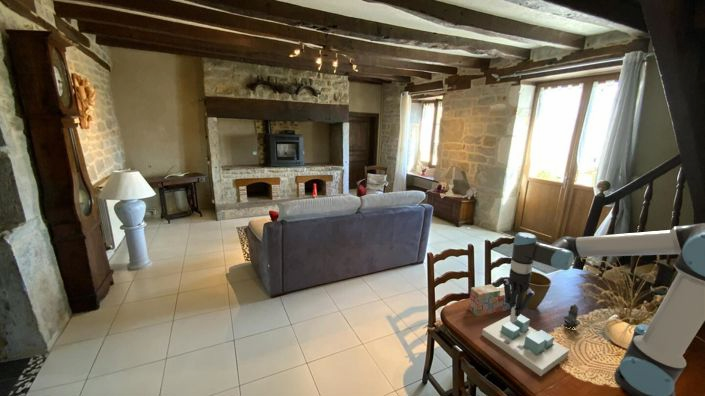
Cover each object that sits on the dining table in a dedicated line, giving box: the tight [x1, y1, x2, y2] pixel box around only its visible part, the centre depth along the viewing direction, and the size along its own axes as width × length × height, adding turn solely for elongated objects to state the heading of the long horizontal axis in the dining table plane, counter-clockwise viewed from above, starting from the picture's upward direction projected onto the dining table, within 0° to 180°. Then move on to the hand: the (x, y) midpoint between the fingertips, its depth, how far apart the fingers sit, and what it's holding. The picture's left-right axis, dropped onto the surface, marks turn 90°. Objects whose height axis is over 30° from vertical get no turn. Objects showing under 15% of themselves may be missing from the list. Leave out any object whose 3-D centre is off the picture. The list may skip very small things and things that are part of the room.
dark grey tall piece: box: [562, 304, 580, 329], centre depth 132 cm, size 6×6×12 cm
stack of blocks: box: [468, 284, 510, 317], centre depth 145 cm, size 21×6×12 cm, turn 106°
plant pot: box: [522, 270, 552, 310], centre depth 148 cm, size 15×15×16 cm
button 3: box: [524, 332, 546, 355], centre depth 116 cm, size 5×5×5 cm
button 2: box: [511, 313, 531, 333], centre depth 127 cm, size 5×5×5 cm
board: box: [481, 314, 570, 377], centre depth 122 cm, size 25×20×3 cm
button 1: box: [501, 322, 520, 340], centre depth 124 cm, size 5×5×5 cm
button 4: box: [536, 329, 555, 350], centre depth 119 cm, size 5×5×5 cm
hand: (513, 320), depth 123 cm, fingers closed
